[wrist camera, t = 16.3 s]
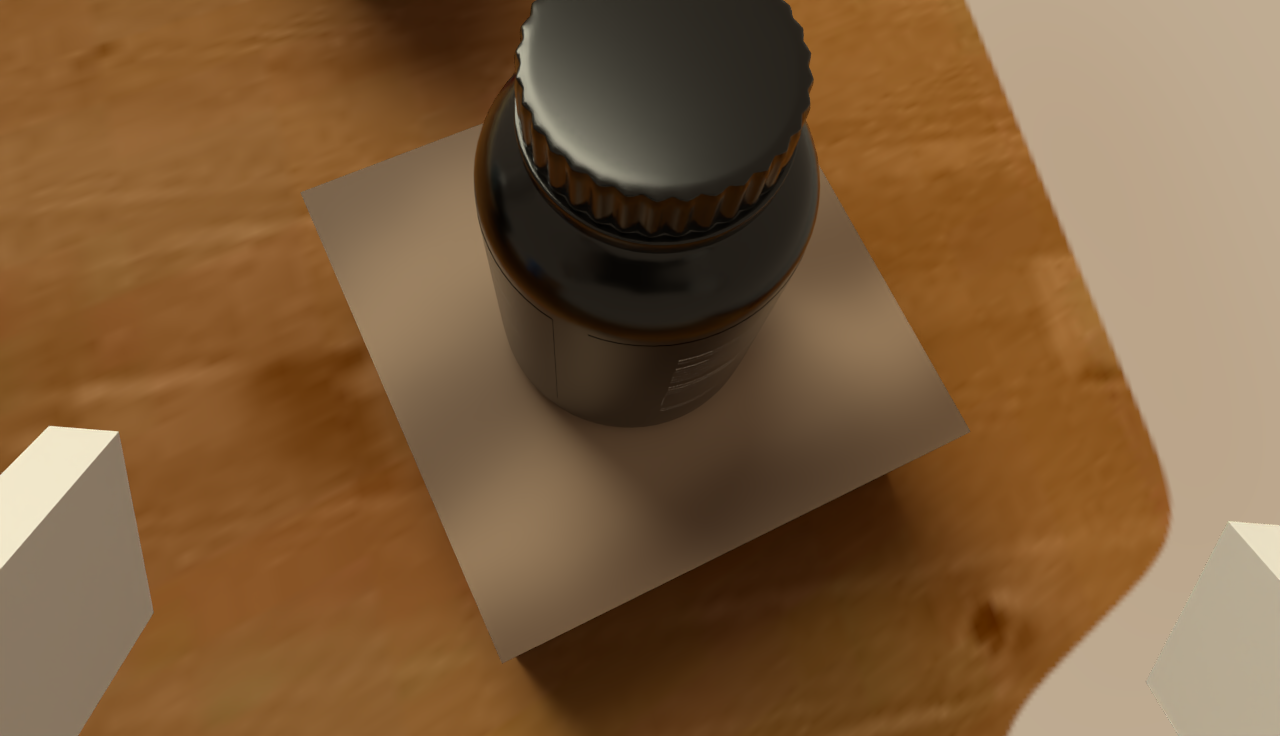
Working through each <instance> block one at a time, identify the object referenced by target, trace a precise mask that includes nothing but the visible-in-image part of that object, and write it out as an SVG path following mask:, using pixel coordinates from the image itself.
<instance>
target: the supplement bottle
mask: <svg viewBox="0 0 1280 736" xmlns="http://www.w3.org/2000/svg"><path fill="white" fill-rule="evenodd" d="M803 36H804V34H803V28H802V27H801V26H800V24H799V23H798V22H797V21H796V20H795V19H794V18H793V16H792V10H791V7H790V5H789V4H787V3H786V2H785V1H783V0H536V1H534V2H533V3H532V6H531V12H530V17H529V18H528V19H527V20H526V21H525V22H524V24H523V25H522V26H521V29H520V44H519V45H518V47H517V49H516V51H515V55H514V63H515V73H514V74H513V75H512V77H511V78H510V79H509V80H508V81H507V82H506V84H505V85H504V87H503V88H502V90H501V91H500V92H499V94H498V95H497V97H496V98H495V100H494V102H493V104H492V106H491V107H490V109H489V111H488V113H487V116H486V118H485V121H484V123H483V126H482V129H481V132H480V136H479V139H478V142H477V147H476V153H475V159H474V174H473V175H474V195H475V203H476V209H477V216H478V221H479V225H480V229H481V234H482V238H483V242H484V246H485V250H486V255H487V259H488V263H489V267H490V272H491V276H492V280H493V284H494V289H495V293H496V297H497V301H498V305H499V310H500V314H501V318H502V322H503V326H504V330H505V333H506V336H507V340H508V342H509V345H510V348H511V350H512V353H513V355H514V357H515V359H516V361H517V363H518V364H519V366H520V368H521V369H522V371H523V372H524V374H525V375H526V377H527V378H528V379H529V380H530V382H531V383H532V384H533V385H534V386H535V387H536V388H537V389H538V390H539V391H540V393H542V394H543V395H544V396H545V397H546V398H547V399H549V400H550V401H551V402H552V403H554V404H555V405H557V406H558V407H560V408H561V409H563V410H565V411H567V412H568V413H570V414H572V415H574V416H577V417H579V418H581V419H584V420H587V421H590V422H593V423H597V424H601V425H606V426H612V427H624V428H635V427H647V426H653V425H658V424H662V423H665V422H669V421H672V420H674V419H677V418H679V417H682V416H684V415H686V414H688V413H690V412H692V411H693V410H695V409H696V408H698V407H700V406H701V405H703V404H704V403H705V402H706V401H708V400H709V399H710V398H711V397H713V396H714V395H715V394H716V393H717V392H718V391H719V390H720V389H721V388H722V387H723V386H724V384H725V383H726V382H727V381H728V380H729V378H730V377H731V376H732V374H733V373H734V371H735V370H736V368H737V367H738V365H739V364H740V362H741V361H742V359H743V358H744V356H745V354H746V353H747V351H748V349H749V348H750V346H751V344H752V343H753V341H754V339H755V338H756V336H757V334H758V333H759V331H760V329H761V328H762V326H763V324H764V322H765V321H766V319H767V317H768V316H769V314H770V312H771V311H772V309H773V307H774V306H775V304H776V302H777V301H778V299H779V297H780V296H781V294H782V292H783V291H784V289H785V287H786V286H787V284H788V282H789V281H790V279H791V277H792V275H793V274H794V272H795V270H796V268H797V266H798V265H799V263H800V261H801V259H802V257H803V255H804V253H805V250H806V248H807V245H808V243H809V240H810V238H811V235H812V233H813V229H814V226H815V222H816V218H817V213H818V207H819V197H820V172H819V164H818V157H817V153H816V149H815V145H814V141H813V138H812V135H811V132H810V130H809V127H808V124H807V122H806V118H807V116H808V113H809V111H810V97H809V93H810V91H811V88H812V86H813V76H812V73H811V70H810V68H809V64H810V58H811V52H810V51H809V49H808V47H807V46H806V44H805V43H804V41H803Z"/></svg>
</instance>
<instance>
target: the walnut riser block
mask: <svg viewBox="0 0 1280 736" xmlns="http://www.w3.org/2000/svg"><path fill="white" fill-rule="evenodd" d="M482 126H483V124H480V125H477V126H475V127H472V128H469V129H467V130H464V131H461V132H459V133H456V134H454V135H451V136H448V137H446V138H443V139H440V140H438V141H435V142H432V143H430V144H427V145H425V146H422V147H419V148H417V149H414V150H411V151H409V152H406V153H403V154H401V155H398V156H395V157H393V158H390V159H388V160H385V161H382V162H380V163H377V164H374V165H372V166H369V167H366V168H364V169H361V170H359V171H356V172H353V173H351V174H348V175H345V176H343V177H340V178H337V179H335V180H332V181H329V182H327V183H324V184H322V185H319V186H316V187H314V188H311V189H308V190H306V191H303V192H301V195H302V197H303V199H304V202H305V204H306V206H307V209H308V211H309V213H310V216H311V218H312V221H313V223H314V225H315V228H316V230H317V232H318V235H319V237H320V239H321V242H322V244H323V246H324V249H325V251H326V253H327V256H328V258H329V260H330V263H331V265H332V267H333V270H334V272H335V274H336V277H337V279H338V281H339V284H340V286H341V288H342V291H343V293H344V295H345V298H346V300H347V302H348V305H349V307H350V309H351V312H352V314H353V316H354V319H355V321H356V323H357V326H358V328H359V330H360V333H361V335H362V337H363V340H364V342H365V344H366V347H367V349H368V351H369V354H370V356H371V358H372V361H373V363H374V365H375V368H376V370H377V372H378V375H379V377H380V379H381V382H382V384H383V386H384V389H385V391H386V393H387V396H388V398H389V400H390V403H391V405H392V407H393V410H394V412H395V414H396V417H397V419H398V421H399V424H400V426H401V428H402V431H403V433H404V435H405V438H406V440H407V442H408V445H409V447H410V449H411V452H412V454H413V456H414V459H415V461H416V463H417V466H418V468H419V470H420V473H421V475H422V477H423V480H424V482H425V485H426V487H427V489H428V492H429V494H430V496H431V499H432V501H433V503H434V506H435V508H436V510H437V513H438V515H439V517H440V520H441V522H442V524H443V527H444V529H445V531H446V534H447V536H448V538H449V541H450V543H451V545H452V548H453V550H454V552H455V555H456V557H457V559H458V562H459V564H460V566H461V569H462V571H463V573H464V576H465V578H466V580H467V583H468V585H469V587H470V590H471V592H472V594H473V597H474V599H475V601H476V604H477V606H478V608H479V611H480V613H481V615H482V618H483V620H484V622H485V625H486V627H487V629H488V632H489V634H490V636H491V639H492V641H493V643H494V646H495V648H496V650H497V653H498V655H499V657H500V660H501V662H502V663H504V662H506V661H508V660H510V659H512V658H514V657H516V656H518V655H520V654H522V653H524V652H526V651H528V650H530V649H532V648H535V647H537V646H539V645H541V644H543V643H545V642H547V641H549V640H551V639H553V638H555V637H557V636H559V635H561V634H563V633H565V632H567V631H569V630H571V629H573V628H575V627H577V626H579V625H581V624H583V623H585V622H587V621H589V620H591V619H593V618H595V617H597V616H599V615H601V614H603V613H605V612H607V611H609V610H611V609H613V608H615V607H617V606H619V605H621V604H623V603H625V602H627V601H630V600H632V599H634V598H636V597H638V596H640V595H642V594H644V593H646V592H648V591H650V590H652V589H654V588H656V587H658V586H660V585H662V584H664V583H666V582H668V581H670V580H672V579H674V578H676V577H678V576H680V575H682V574H684V573H686V572H688V571H690V570H692V569H694V568H696V567H698V566H700V565H702V564H704V563H706V562H708V561H710V560H712V559H714V558H716V557H718V556H720V555H722V554H725V553H727V552H729V551H731V550H733V549H735V548H737V547H739V546H741V545H743V544H745V543H747V542H749V541H751V540H753V539H755V538H757V537H759V536H761V535H763V534H765V533H767V532H769V531H771V530H773V529H775V528H777V527H779V526H781V525H783V524H785V523H787V522H789V521H791V520H793V519H795V518H797V517H799V516H801V515H803V514H805V513H807V512H809V511H811V510H813V509H815V508H817V507H820V506H822V505H824V504H826V503H828V502H830V501H832V500H834V499H836V498H838V497H840V496H842V495H844V494H846V493H848V492H850V491H852V490H854V489H856V488H858V487H860V486H862V485H864V484H866V483H868V482H870V481H872V480H874V479H876V478H878V477H880V476H882V475H884V474H886V473H888V472H890V471H892V470H894V469H896V468H898V467H900V466H902V465H904V464H906V463H908V462H910V461H912V460H914V459H917V458H919V457H921V456H923V455H925V454H927V453H929V452H931V451H933V450H935V449H937V448H939V447H941V446H943V445H945V444H947V443H949V442H951V441H953V440H955V439H957V438H959V437H961V436H963V435H965V434H967V433H969V432H970V430H969V428H968V426H967V425H966V423H965V421H964V419H963V418H962V416H961V414H960V412H959V411H958V409H957V407H956V405H955V404H954V402H953V400H952V398H951V397H950V395H949V393H948V391H947V389H946V388H945V386H944V384H943V382H942V381H941V379H940V377H939V375H938V374H937V372H936V370H935V368H934V367H933V365H932V363H931V361H930V360H929V358H928V356H927V354H926V353H925V351H924V349H923V347H922V346H921V344H920V342H919V340H918V339H917V337H916V335H915V333H914V331H913V330H912V328H911V326H910V324H909V323H908V321H907V319H906V317H905V316H904V314H903V312H902V310H901V309H900V307H899V305H898V303H897V302H896V300H895V298H894V296H893V295H892V293H891V291H890V289H889V288H888V286H887V284H886V282H885V281H884V279H883V277H882V275H881V273H880V272H879V270H878V268H877V266H876V265H875V263H874V261H873V259H872V258H871V256H870V254H869V252H868V251H867V249H866V247H865V245H864V244H863V242H862V240H861V238H860V237H859V235H858V233H857V231H856V230H855V228H854V226H853V224H852V223H851V221H850V219H849V217H848V215H847V214H846V212H845V210H844V208H843V207H842V205H841V203H840V201H839V200H838V198H837V196H836V194H835V193H834V191H833V189H832V187H831V186H830V184H829V182H828V180H827V179H826V177H825V175H824V173H823V172H822V170H821V168H820V166H819V172H820V197H819V207H818V213H817V218H816V222H815V226H814V229H813V233H812V235H811V238H810V240H809V243H808V245H807V248H806V250H805V253H804V255H803V257H802V259H801V261H800V263H799V265H798V266H797V268H796V270H795V272H794V274H793V275H792V277H791V279H790V281H789V282H788V284H787V286H786V287H785V289H784V291H783V292H782V294H781V296H780V297H779V299H778V301H777V302H776V304H775V306H774V307H773V309H772V311H771V312H770V314H769V316H768V317H767V319H766V321H765V322H764V324H763V326H762V328H761V329H760V331H759V333H758V334H757V336H756V338H755V339H754V341H753V343H752V344H751V346H750V348H749V349H748V351H747V353H746V354H745V356H744V358H743V359H742V361H741V362H740V364H739V365H738V367H737V368H736V370H735V371H734V373H733V374H732V376H731V377H730V378H729V380H728V381H727V382H726V383H725V384H724V386H723V387H722V388H721V389H720V390H719V391H718V392H717V393H716V394H715V395H714V396H713V397H711V398H710V399H709V400H708V401H706V402H705V403H704V404H703V405H701V406H700V407H698V408H696V409H695V410H693V411H692V412H690V413H688V414H686V415H684V416H682V417H679V418H677V419H674V420H672V421H669V422H665V423H662V424H658V425H653V426H647V427H635V428H624V427H612V426H606V425H601V424H597V423H593V422H590V421H587V420H584V419H581V418H579V417H577V416H574V415H572V414H570V413H568V412H567V411H565V410H563V409H561V408H560V407H558V406H557V405H555V404H554V403H552V402H551V401H550V400H549V399H547V398H546V397H545V396H544V395H543V394H542V393H540V391H539V390H538V389H537V388H536V387H535V386H534V385H533V384H532V383H531V382H530V380H529V379H528V378H527V377H526V375H525V374H524V372H523V371H522V369H521V368H520V366H519V364H518V363H517V361H516V359H515V357H514V355H513V353H512V350H511V348H510V345H509V342H508V340H507V336H506V333H505V330H504V326H503V322H502V318H501V314H500V310H499V305H498V301H497V297H496V293H495V289H494V284H493V280H492V276H491V272H490V267H489V263H488V259H487V255H486V250H485V246H484V242H483V238H482V234H481V229H480V225H479V221H478V216H477V209H476V203H475V195H474V175H473V174H474V159H475V153H476V147H477V142H478V139H479V136H480V132H481V129H482Z"/></svg>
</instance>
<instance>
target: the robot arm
mask: <svg viewBox="0 0 1280 736" xmlns="http://www.w3.org/2000/svg"><path fill="white" fill-rule="evenodd" d="M153 613H154V612H153V607H152V602H151V597H150V592H149V586H148V581H147V576H146V571H145V566H144V560H143V555H142V550H141V545H140V540H139V534H138V529H137V524H136V519H135V514H134V508H133V503H132V498H131V493H130V488H129V482H128V477H127V472H126V467H125V462H124V457H123V451H122V446H121V441H120V436H119V432H117V431H105V430H92V429H80V428H67V427H55V426H49V427H48V428H47V429H46V430H45V431H44V432H43V433H42V434H41V435H40V436H39V437H38V438H37V439H36V440H35V441H34V442H33V443H32V444H31V445H30V446H29V447H28V448H27V449H26V450H25V451H24V452H23V453H22V454H21V455H20V456H19V457H18V458H17V459H16V460H15V461H14V462H13V463H12V464H11V465H10V466H9V467H8V468H7V469H6V470H5V471H4V472H3V473H2V474H1V475H0V736H78V735H79V733H80V732H81V730H82V728H83V727H84V725H85V723H86V722H87V720H88V719H89V717H90V715H91V714H92V712H93V710H94V709H95V707H96V706H97V704H98V702H99V701H100V699H101V697H102V696H103V694H104V692H105V691H106V689H107V688H108V686H109V684H110V683H111V681H112V679H113V678H114V676H115V675H116V673H117V671H118V670H119V668H120V666H121V665H122V663H123V662H124V660H125V658H126V657H127V655H128V653H129V652H130V650H131V649H132V647H133V645H134V644H135V642H136V640H137V639H138V637H139V636H140V634H141V632H142V631H143V629H144V627H145V626H146V624H147V623H148V621H149V619H150V618H151V616H152V614H153ZM1146 683H1147V685H1148V686H1149V688H1150V690H1151V691H1152V693H1153V695H1154V696H1155V698H1156V700H1157V701H1158V703H1159V705H1160V706H1161V708H1162V709H1163V711H1164V713H1165V715H1166V716H1167V718H1168V719H1169V721H1170V723H1171V724H1172V726H1173V728H1174V729H1175V731H1176V733H1177V734H1178V736H1280V525H1268V524H1255V523H1243V522H1231V521H1228V522H1227V524H1226V526H1225V528H1224V530H1223V532H1222V534H1221V536H1220V538H1219V540H1218V542H1217V544H1216V545H1215V547H1214V549H1213V551H1212V553H1211V555H1210V557H1209V559H1208V561H1207V563H1206V565H1205V567H1204V569H1203V571H1202V573H1201V575H1200V577H1199V579H1198V581H1197V583H1196V585H1195V586H1194V588H1193V590H1192V592H1191V594H1190V596H1189V598H1188V600H1187V602H1186V604H1185V606H1184V608H1183V610H1182V612H1181V614H1180V616H1179V618H1178V620H1177V622H1176V624H1175V626H1174V628H1173V630H1172V631H1171V634H1170V635H1169V637H1168V639H1167V641H1166V643H1165V645H1164V647H1163V649H1162V651H1161V653H1160V655H1159V657H1158V659H1157V661H1156V663H1155V665H1154V667H1153V669H1152V670H1151V672H1150V674H1149V676H1148V678H1147V680H1146Z"/></svg>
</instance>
